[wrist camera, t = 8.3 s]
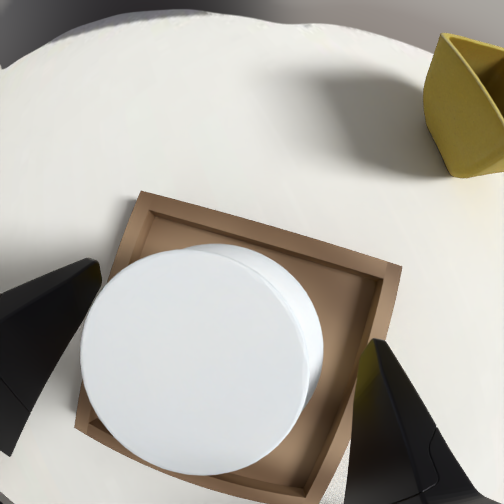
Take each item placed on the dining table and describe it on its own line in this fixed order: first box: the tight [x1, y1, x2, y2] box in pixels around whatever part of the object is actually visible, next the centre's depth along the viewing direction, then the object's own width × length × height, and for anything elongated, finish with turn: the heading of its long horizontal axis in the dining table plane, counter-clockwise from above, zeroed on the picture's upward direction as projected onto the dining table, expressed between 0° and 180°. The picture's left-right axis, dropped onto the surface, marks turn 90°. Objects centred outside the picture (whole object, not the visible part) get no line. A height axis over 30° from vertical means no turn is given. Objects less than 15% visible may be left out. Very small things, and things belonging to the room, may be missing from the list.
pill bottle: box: [80, 244, 323, 476], centre depth 11 cm, size 6×6×12 cm
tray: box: [74, 191, 402, 504], centre depth 16 cm, size 16×16×2 cm
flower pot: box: [423, 33, 504, 178], centre depth 15 cm, size 9×9×9 cm
